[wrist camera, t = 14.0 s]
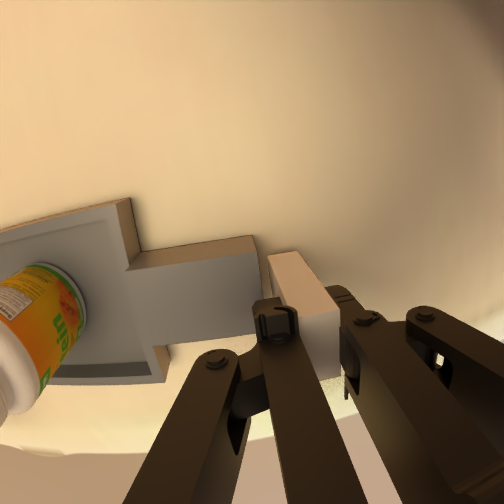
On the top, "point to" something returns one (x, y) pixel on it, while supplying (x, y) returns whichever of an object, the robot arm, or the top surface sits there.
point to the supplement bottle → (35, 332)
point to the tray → (136, 291)
